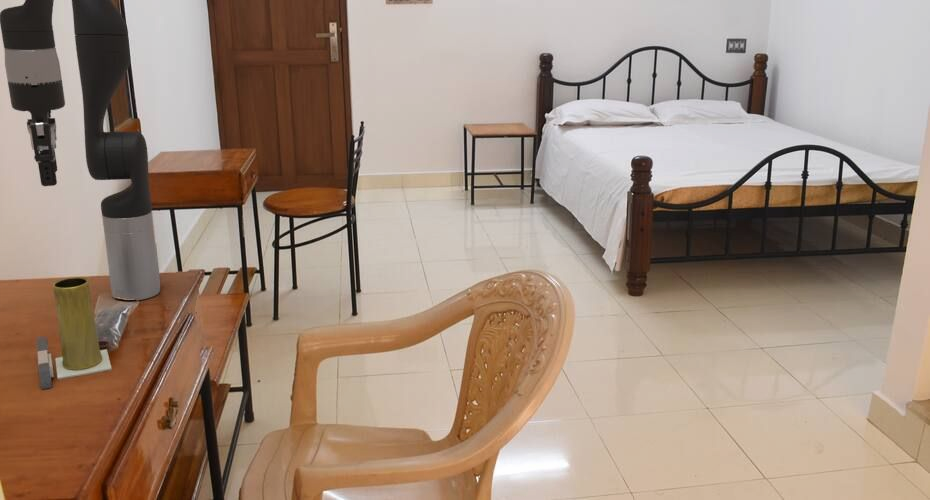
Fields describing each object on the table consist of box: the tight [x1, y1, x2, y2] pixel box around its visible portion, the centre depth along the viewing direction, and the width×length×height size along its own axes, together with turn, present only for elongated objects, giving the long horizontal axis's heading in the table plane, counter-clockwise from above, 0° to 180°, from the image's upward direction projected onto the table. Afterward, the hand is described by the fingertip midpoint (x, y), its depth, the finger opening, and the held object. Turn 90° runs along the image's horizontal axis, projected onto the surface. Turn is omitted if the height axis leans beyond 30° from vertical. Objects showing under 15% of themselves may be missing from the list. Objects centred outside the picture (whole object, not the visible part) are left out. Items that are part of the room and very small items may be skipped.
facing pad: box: [55, 348, 113, 380], centre depth 133 cm, size 8×8×1 cm
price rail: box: [35, 336, 55, 390], centre depth 131 cm, size 14×2×3 cm, turn 28°
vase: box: [52, 276, 102, 370], centre depth 131 cm, size 6×6×14 cm
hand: (49, 178), depth 130 cm, fingers open, 8 cm apart
